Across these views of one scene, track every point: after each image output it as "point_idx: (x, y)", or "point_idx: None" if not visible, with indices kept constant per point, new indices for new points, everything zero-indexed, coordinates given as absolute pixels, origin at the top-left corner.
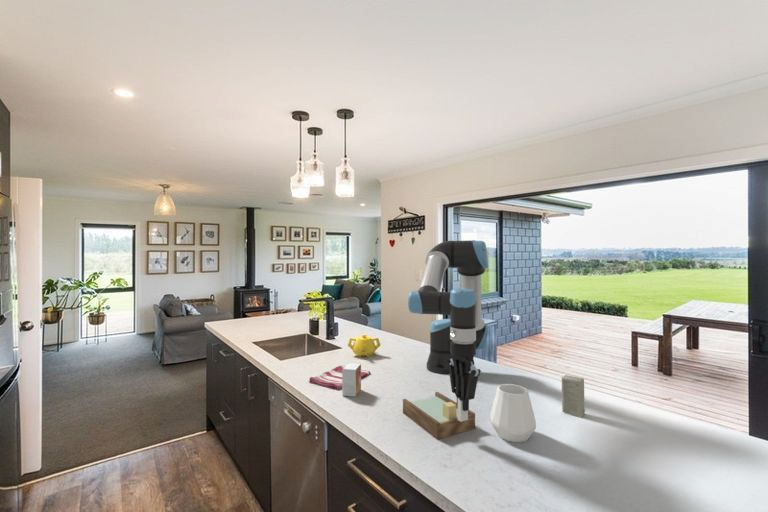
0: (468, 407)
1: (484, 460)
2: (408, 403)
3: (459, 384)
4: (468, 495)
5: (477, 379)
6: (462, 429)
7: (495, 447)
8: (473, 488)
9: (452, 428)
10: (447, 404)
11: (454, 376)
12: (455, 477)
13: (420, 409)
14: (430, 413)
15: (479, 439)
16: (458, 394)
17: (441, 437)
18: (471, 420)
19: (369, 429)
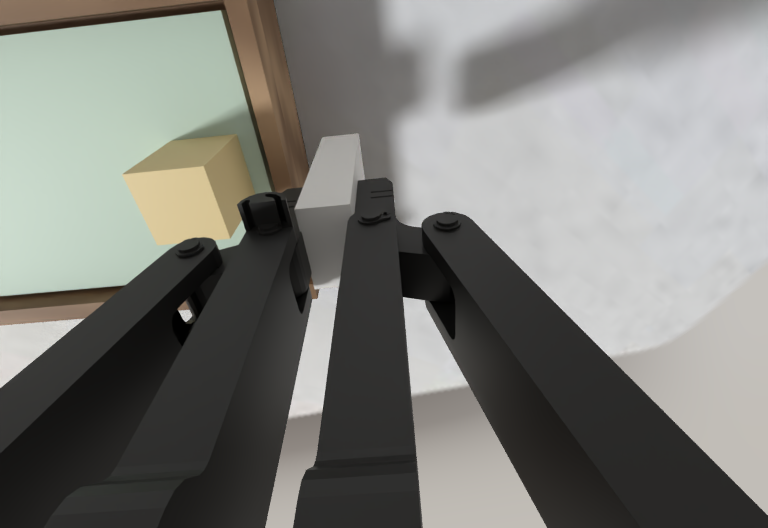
0: (391, 191)
1: (568, 154)
2: (32, 321)
3: (286, 383)
4: (659, 315)
5: (703, 458)
6: (289, 95)
7: (519, 5)
8: (650, 288)
9: (302, 179)
10: (182, 224)
11: (109, 453)
12: (572, 306)
13: None
14: (152, 250)
15: (402, 42)
16: (308, 303)
17: None
18: (259, 10)
19: None
